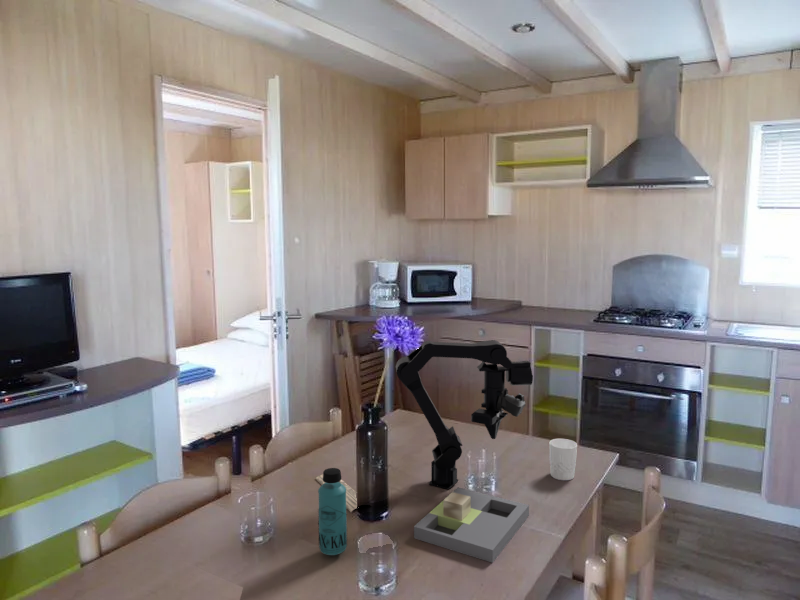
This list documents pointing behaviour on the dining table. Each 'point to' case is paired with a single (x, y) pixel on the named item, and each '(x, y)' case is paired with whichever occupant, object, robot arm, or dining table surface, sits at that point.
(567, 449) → the white cup
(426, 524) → the trap deck
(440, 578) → the dining table surface
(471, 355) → the robot arm
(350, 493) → the newspaper
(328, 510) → the beverage bottle
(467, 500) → the maple block
